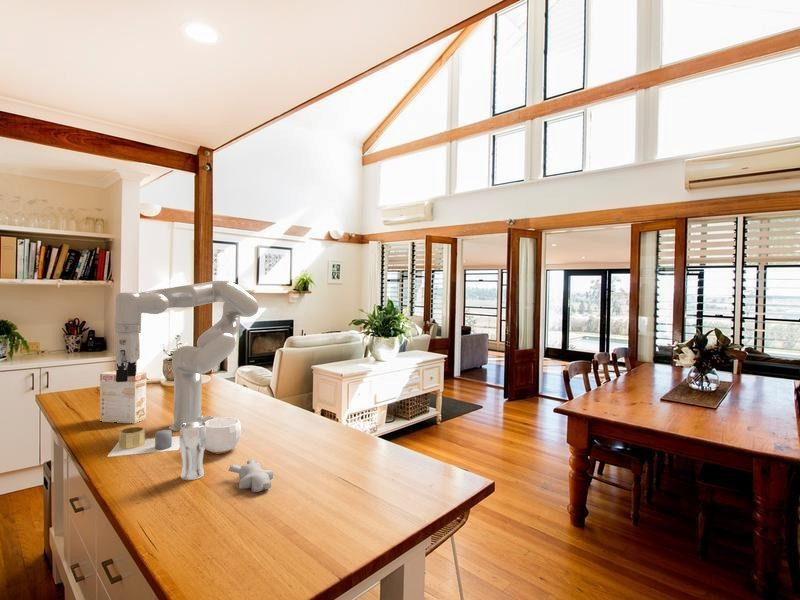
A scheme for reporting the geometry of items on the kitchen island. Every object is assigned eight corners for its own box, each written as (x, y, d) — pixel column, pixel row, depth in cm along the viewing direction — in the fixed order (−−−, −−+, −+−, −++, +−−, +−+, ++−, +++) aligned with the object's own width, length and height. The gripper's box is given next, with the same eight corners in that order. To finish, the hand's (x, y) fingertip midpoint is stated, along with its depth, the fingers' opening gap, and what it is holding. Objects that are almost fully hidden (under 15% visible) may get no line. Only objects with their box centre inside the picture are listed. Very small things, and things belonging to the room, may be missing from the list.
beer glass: (179, 472, 126) (180, 422, 125) (205, 469, 128) (206, 419, 128) (177, 482, 119) (178, 429, 119) (205, 479, 122) (206, 427, 122)
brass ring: (146, 440, 148) (146, 425, 148) (142, 447, 141) (142, 432, 141) (122, 442, 146) (122, 427, 145) (116, 449, 139) (116, 434, 139)
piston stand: (183, 438, 153) (183, 421, 153) (178, 452, 140) (178, 434, 140) (118, 444, 146) (118, 426, 146) (106, 459, 133) (107, 440, 133)
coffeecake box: (146, 418, 174) (147, 371, 174) (134, 424, 167) (134, 374, 167) (112, 416, 176) (113, 369, 175) (98, 422, 169) (99, 373, 168)
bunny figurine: (247, 484, 111) (225, 459, 122) (246, 502, 112) (224, 476, 123) (280, 474, 118) (256, 451, 128) (279, 491, 118) (255, 467, 129)
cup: (192, 454, 139) (192, 425, 139) (220, 442, 151) (220, 414, 151) (222, 460, 135) (222, 430, 135) (248, 447, 147) (248, 419, 146)
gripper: (133, 331, 138) (131, 383, 138) (147, 326, 155) (145, 374, 155) (106, 330, 136) (104, 384, 136) (123, 326, 152) (121, 374, 153)
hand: (126, 378), depth 145 cm, fingers open, 9 cm apart
